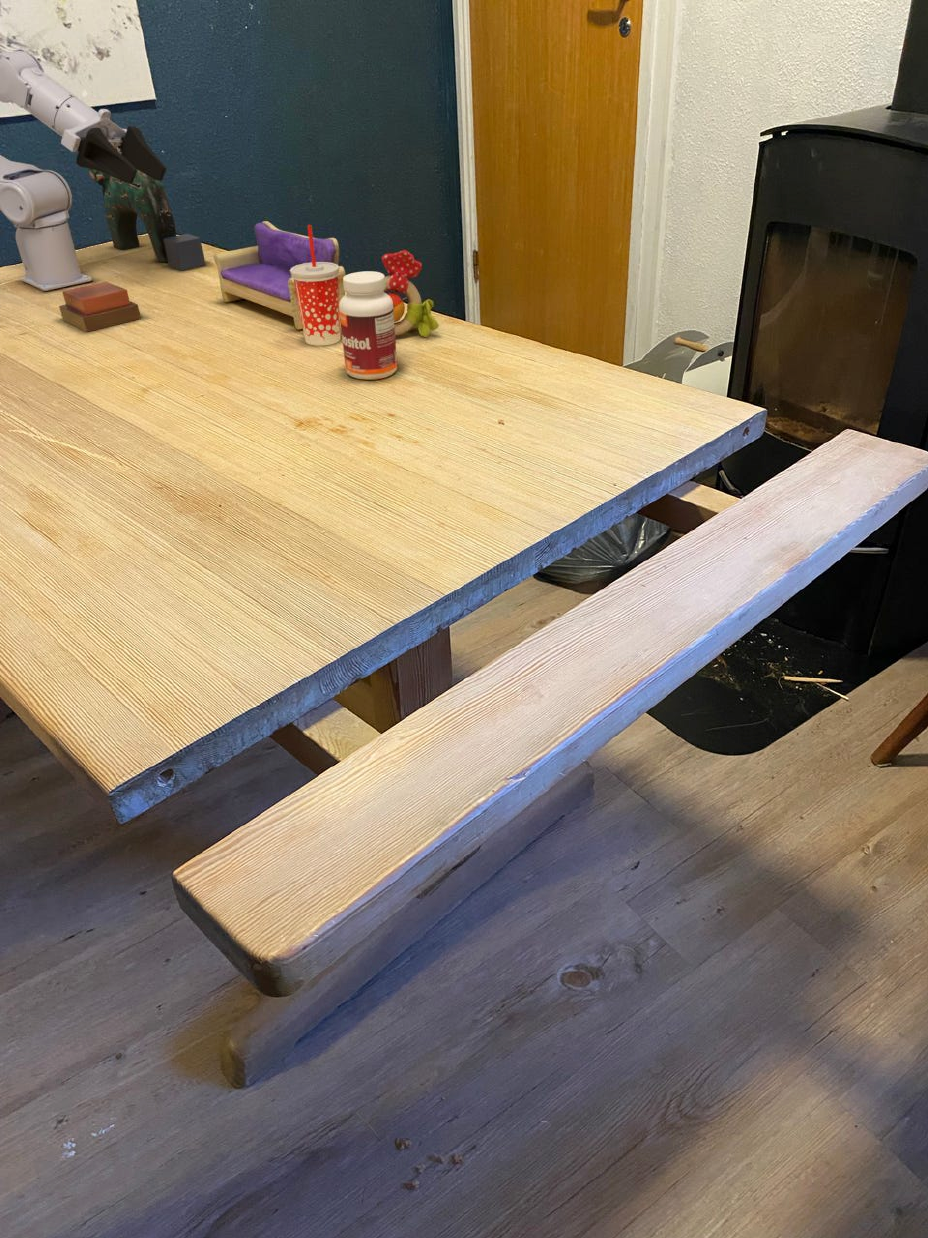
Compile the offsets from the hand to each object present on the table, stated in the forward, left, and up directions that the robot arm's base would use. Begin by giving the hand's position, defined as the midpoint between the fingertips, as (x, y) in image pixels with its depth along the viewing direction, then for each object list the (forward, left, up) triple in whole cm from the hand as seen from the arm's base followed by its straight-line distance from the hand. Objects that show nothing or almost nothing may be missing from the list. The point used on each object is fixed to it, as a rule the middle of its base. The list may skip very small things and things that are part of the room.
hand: (148, 175), depth 129 cm
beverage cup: (+36, +2, -16) cm, 40 cm away
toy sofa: (+21, +6, -16) cm, 27 cm away
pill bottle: (+50, -1, -16) cm, 53 cm away
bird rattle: (+43, +10, -16) cm, 47 cm away
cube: (-12, +9, -16) cm, 22 cm away
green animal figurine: (-26, +9, -16) cm, 32 cm away
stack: (+5, -14, -16) cm, 22 cm away
